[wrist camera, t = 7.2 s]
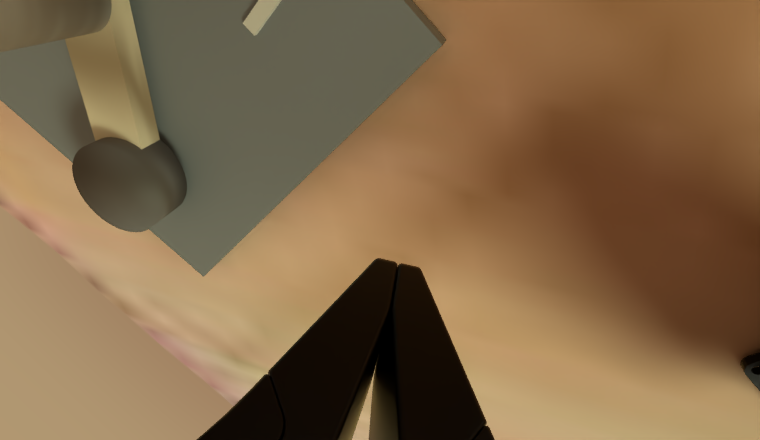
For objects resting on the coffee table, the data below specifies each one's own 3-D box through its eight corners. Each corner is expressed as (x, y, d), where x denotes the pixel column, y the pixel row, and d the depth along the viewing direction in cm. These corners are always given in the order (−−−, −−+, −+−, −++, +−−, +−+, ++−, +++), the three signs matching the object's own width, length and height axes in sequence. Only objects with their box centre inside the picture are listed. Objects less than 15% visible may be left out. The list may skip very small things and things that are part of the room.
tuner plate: (446, 39, 17) (441, 45, 16) (213, 266, 26) (201, 278, 25) (36, -437, 13) (-3, -466, 12) (-62, 24, 23) (-88, 27, 22)
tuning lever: (193, 218, 23) (0, 378, 14) (119, 203, 24) (-105, 346, 15) (122, -141, 15) (-368, -243, 7) (17, -144, 16) (-532, -237, 8)
